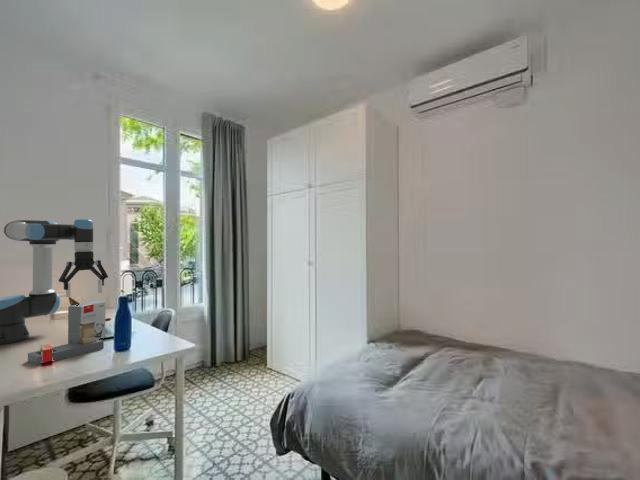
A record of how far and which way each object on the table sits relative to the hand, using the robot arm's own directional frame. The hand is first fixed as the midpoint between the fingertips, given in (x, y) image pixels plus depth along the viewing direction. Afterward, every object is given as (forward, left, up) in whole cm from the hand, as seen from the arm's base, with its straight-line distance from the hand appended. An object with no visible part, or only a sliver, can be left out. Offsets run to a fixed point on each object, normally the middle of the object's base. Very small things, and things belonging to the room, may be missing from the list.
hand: (84, 294), depth 159 cm
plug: (+1, 0, -27) cm, 27 cm away
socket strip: (+1, -8, -27) cm, 28 cm away
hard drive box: (-13, +6, -27) cm, 30 cm away
